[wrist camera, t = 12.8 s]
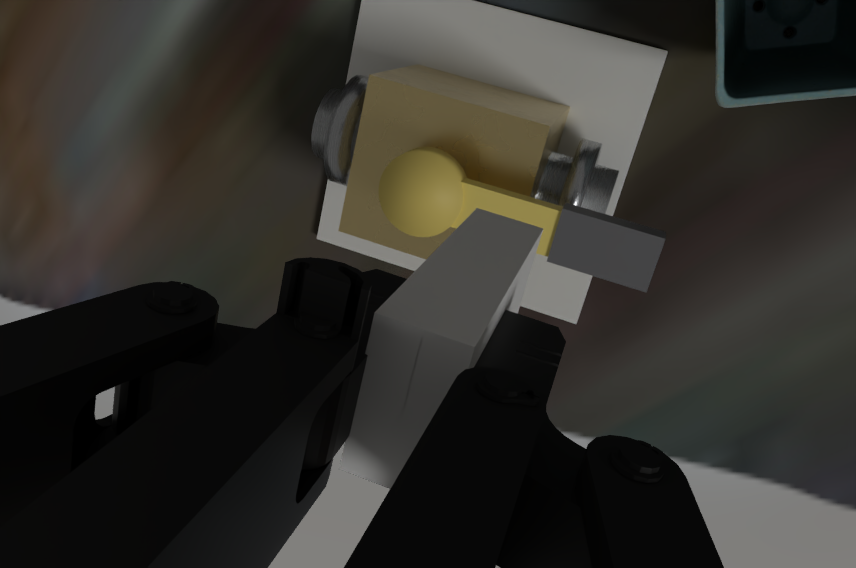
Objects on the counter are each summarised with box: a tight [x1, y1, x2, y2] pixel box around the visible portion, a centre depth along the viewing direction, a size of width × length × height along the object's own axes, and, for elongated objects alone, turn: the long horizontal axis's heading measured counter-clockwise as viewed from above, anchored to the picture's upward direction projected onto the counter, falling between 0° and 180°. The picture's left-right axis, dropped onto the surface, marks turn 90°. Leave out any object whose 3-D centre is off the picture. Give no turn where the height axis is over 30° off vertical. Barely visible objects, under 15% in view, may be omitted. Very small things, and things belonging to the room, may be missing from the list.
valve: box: [311, 64, 619, 259], centre depth 46 cm, size 9×18×11 cm, turn 76°
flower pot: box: [715, 0, 856, 108], centre depth 40 cm, size 9×9×9 cm
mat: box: [317, 0, 668, 324], centre depth 51 cm, size 18×19×1 cm
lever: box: [379, 147, 666, 292], centre depth 40 cm, size 14×4×1 cm, turn 77°
